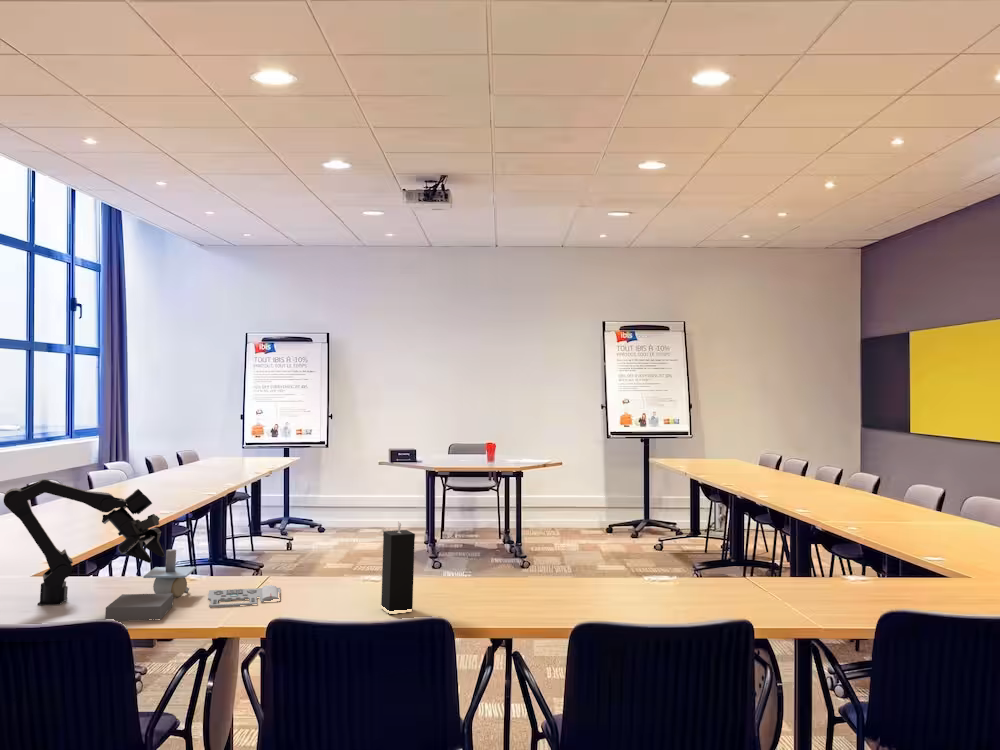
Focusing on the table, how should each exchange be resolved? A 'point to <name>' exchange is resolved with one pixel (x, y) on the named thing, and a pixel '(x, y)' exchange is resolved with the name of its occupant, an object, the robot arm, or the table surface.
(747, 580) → the table surface
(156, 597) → the gray square slab
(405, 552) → the black pillar candle
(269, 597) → the office telephone
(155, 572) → the square plate with knob
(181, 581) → the ceramic mug
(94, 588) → the table surface
